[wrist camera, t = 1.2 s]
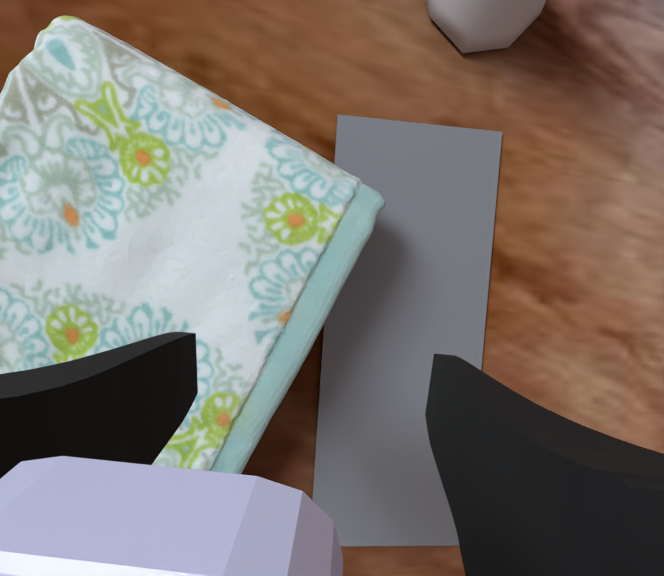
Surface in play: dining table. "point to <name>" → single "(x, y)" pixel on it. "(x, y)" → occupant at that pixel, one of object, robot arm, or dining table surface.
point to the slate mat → (402, 325)
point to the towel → (166, 232)
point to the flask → (483, 21)
